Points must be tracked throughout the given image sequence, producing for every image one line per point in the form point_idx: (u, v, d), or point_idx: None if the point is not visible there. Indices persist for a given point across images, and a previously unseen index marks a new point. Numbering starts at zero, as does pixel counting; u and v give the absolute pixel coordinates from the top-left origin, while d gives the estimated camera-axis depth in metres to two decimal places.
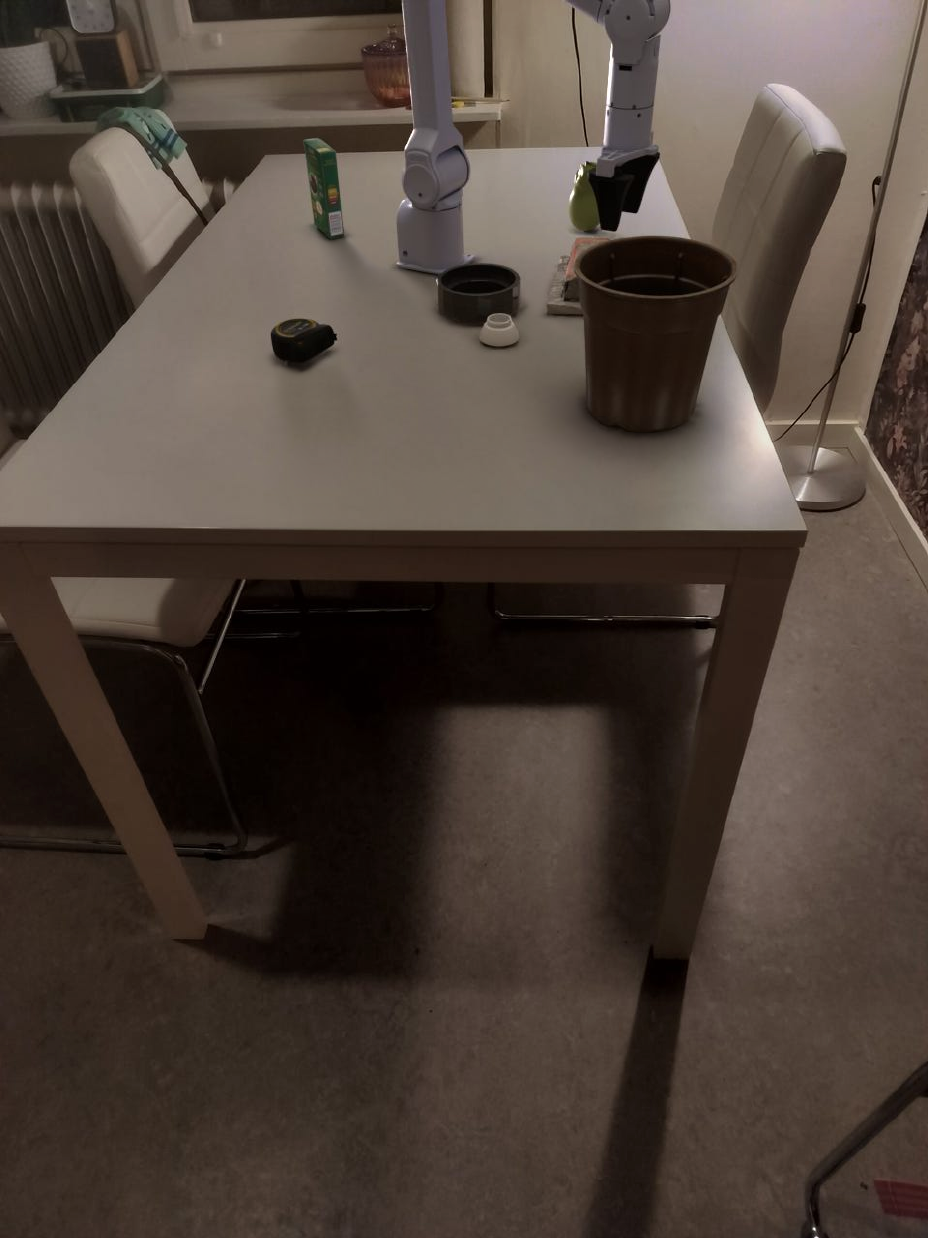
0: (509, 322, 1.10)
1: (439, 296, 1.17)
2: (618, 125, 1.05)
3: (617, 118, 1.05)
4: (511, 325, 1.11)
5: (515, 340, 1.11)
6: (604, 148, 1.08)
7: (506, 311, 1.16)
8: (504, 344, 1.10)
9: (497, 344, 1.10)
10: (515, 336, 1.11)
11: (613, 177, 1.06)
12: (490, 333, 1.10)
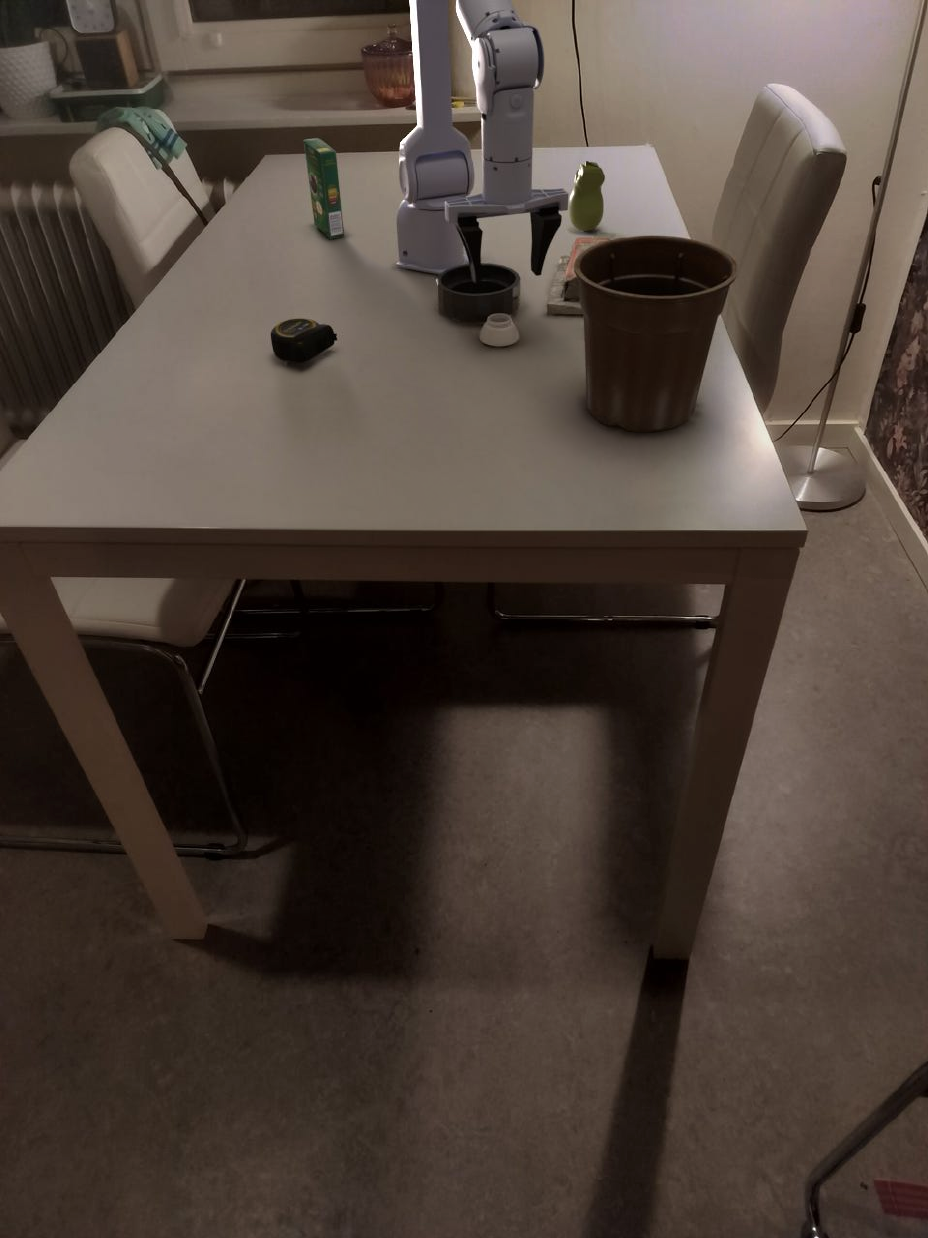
0: (509, 322, 1.10)
1: (439, 296, 1.17)
2: (482, 174, 0.99)
3: (482, 166, 0.99)
4: (511, 325, 1.11)
5: (515, 340, 1.11)
6: (481, 195, 1.03)
7: (506, 311, 1.16)
8: (504, 344, 1.10)
9: (497, 344, 1.10)
10: (515, 336, 1.11)
11: (458, 225, 1.01)
12: (490, 333, 1.10)
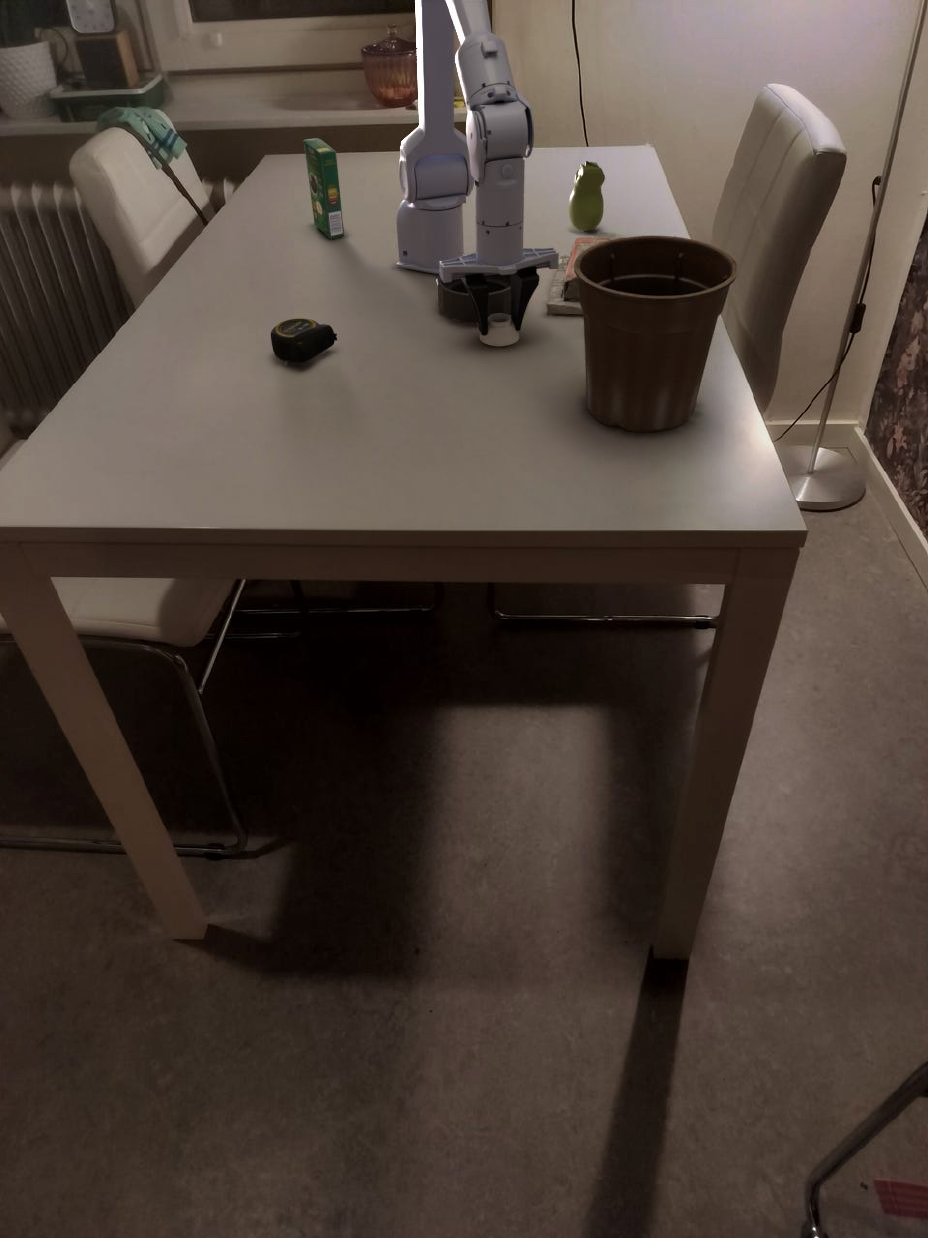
0: (509, 322, 1.10)
1: (439, 296, 1.17)
2: None
3: (476, 229, 1.03)
4: (511, 325, 1.11)
5: (515, 340, 1.11)
6: (474, 254, 1.06)
7: (506, 311, 1.16)
8: (504, 344, 1.10)
9: (497, 344, 1.10)
10: (515, 336, 1.11)
11: (466, 282, 1.06)
12: (490, 333, 1.10)
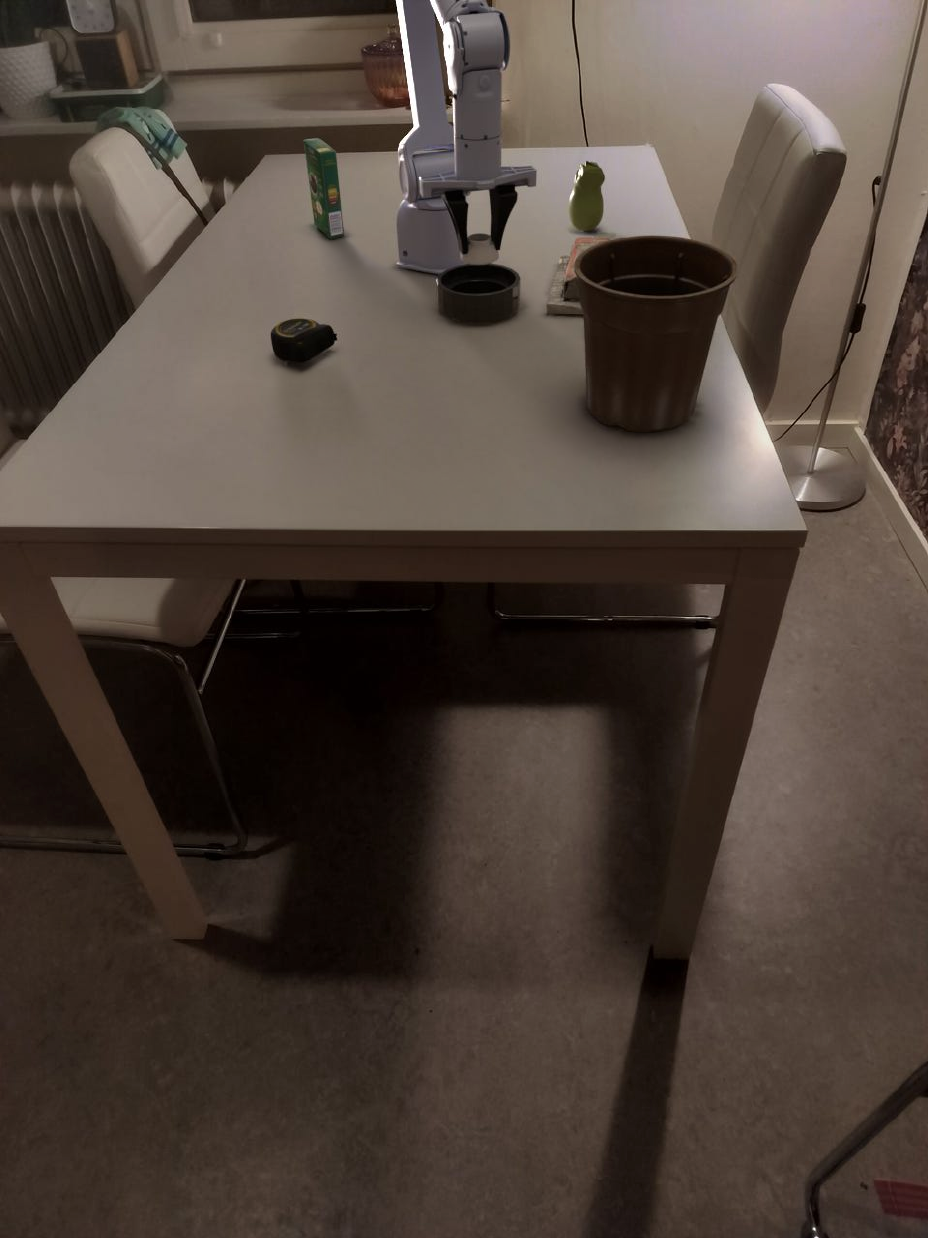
0: (489, 241, 1.12)
1: (439, 296, 1.17)
2: (454, 151, 1.06)
3: (455, 144, 1.05)
4: (491, 244, 1.13)
5: (495, 259, 1.13)
6: (454, 172, 1.09)
7: (506, 311, 1.16)
8: (484, 262, 1.13)
9: (477, 262, 1.13)
10: (495, 255, 1.13)
11: (445, 198, 1.08)
12: (470, 252, 1.13)
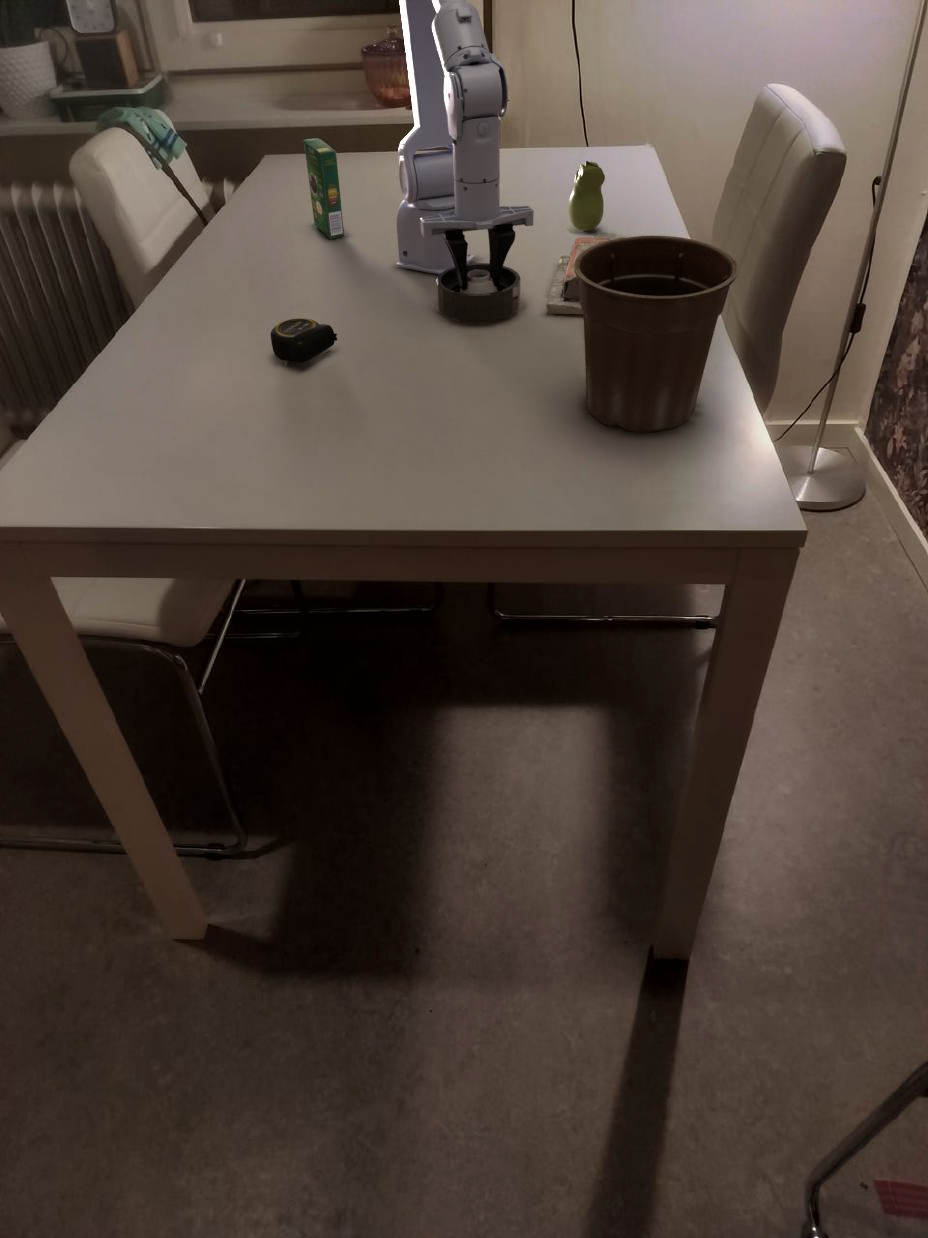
0: (487, 277, 1.16)
1: (439, 296, 1.17)
2: (454, 193, 1.09)
3: (454, 186, 1.09)
4: (489, 280, 1.17)
5: None
6: (454, 212, 1.13)
7: (506, 311, 1.16)
8: None
9: None
10: (493, 291, 1.17)
11: (445, 237, 1.12)
12: (469, 288, 1.16)
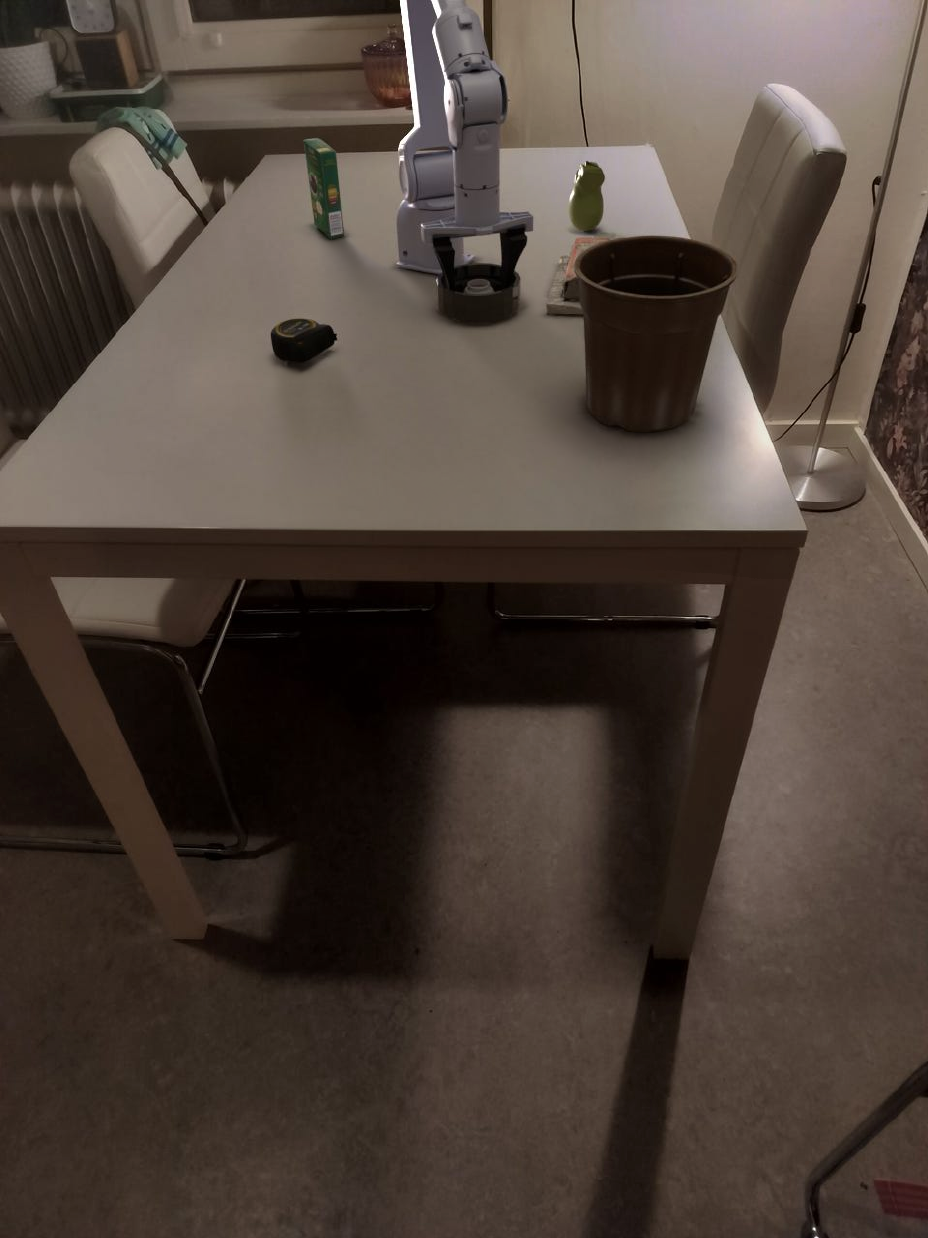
0: (488, 287, 1.17)
1: (439, 296, 1.17)
2: (454, 199, 1.10)
3: (455, 192, 1.10)
4: (490, 290, 1.18)
5: None
6: (454, 218, 1.13)
7: (506, 311, 1.16)
8: None
9: None
10: None
11: (433, 245, 1.12)
12: None
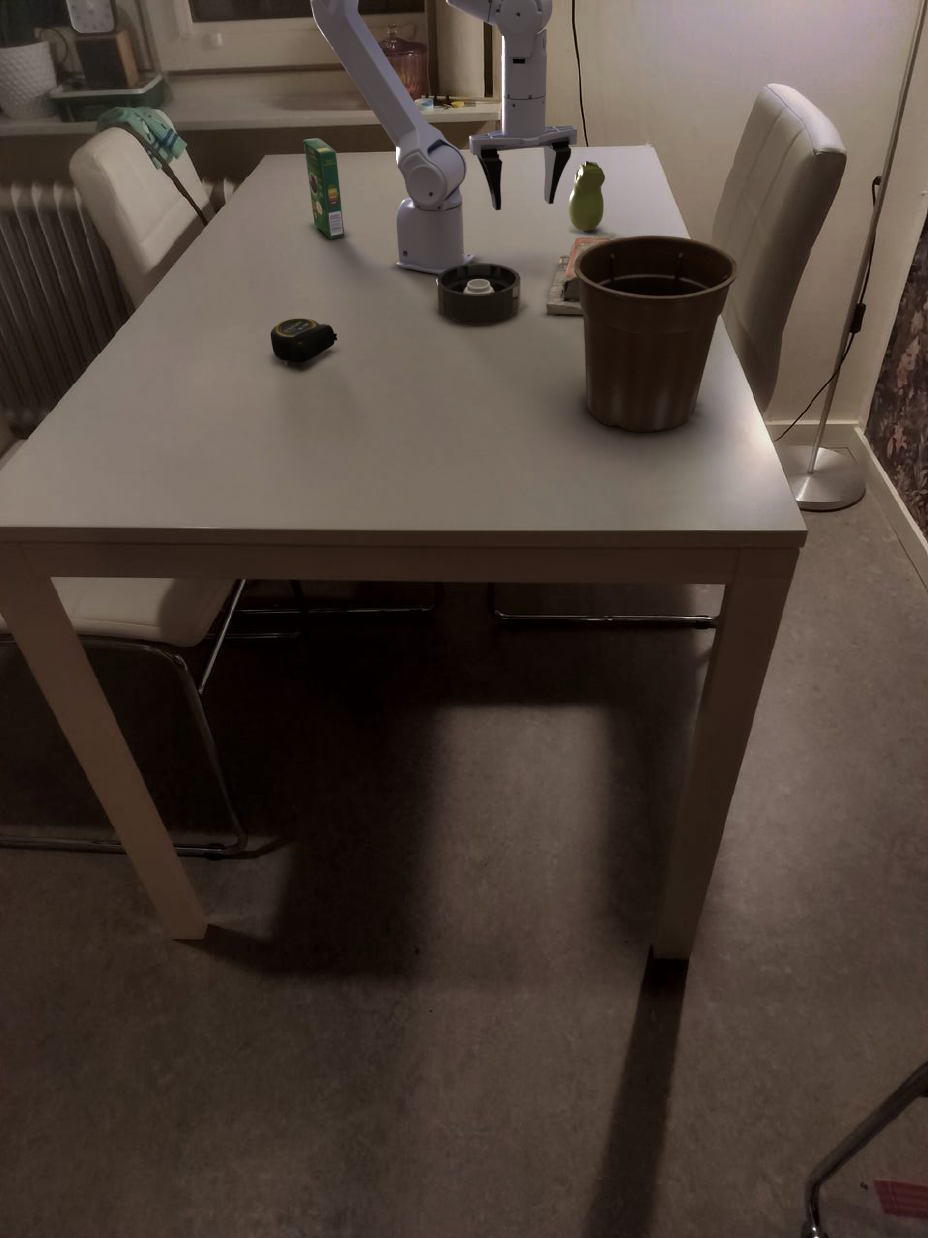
0: (488, 287, 1.17)
1: (439, 296, 1.17)
2: (502, 111, 1.15)
3: (502, 104, 1.15)
4: (490, 290, 1.18)
5: None
6: (501, 131, 1.18)
7: (506, 311, 1.16)
8: None
9: None
10: None
11: (481, 156, 1.17)
12: None
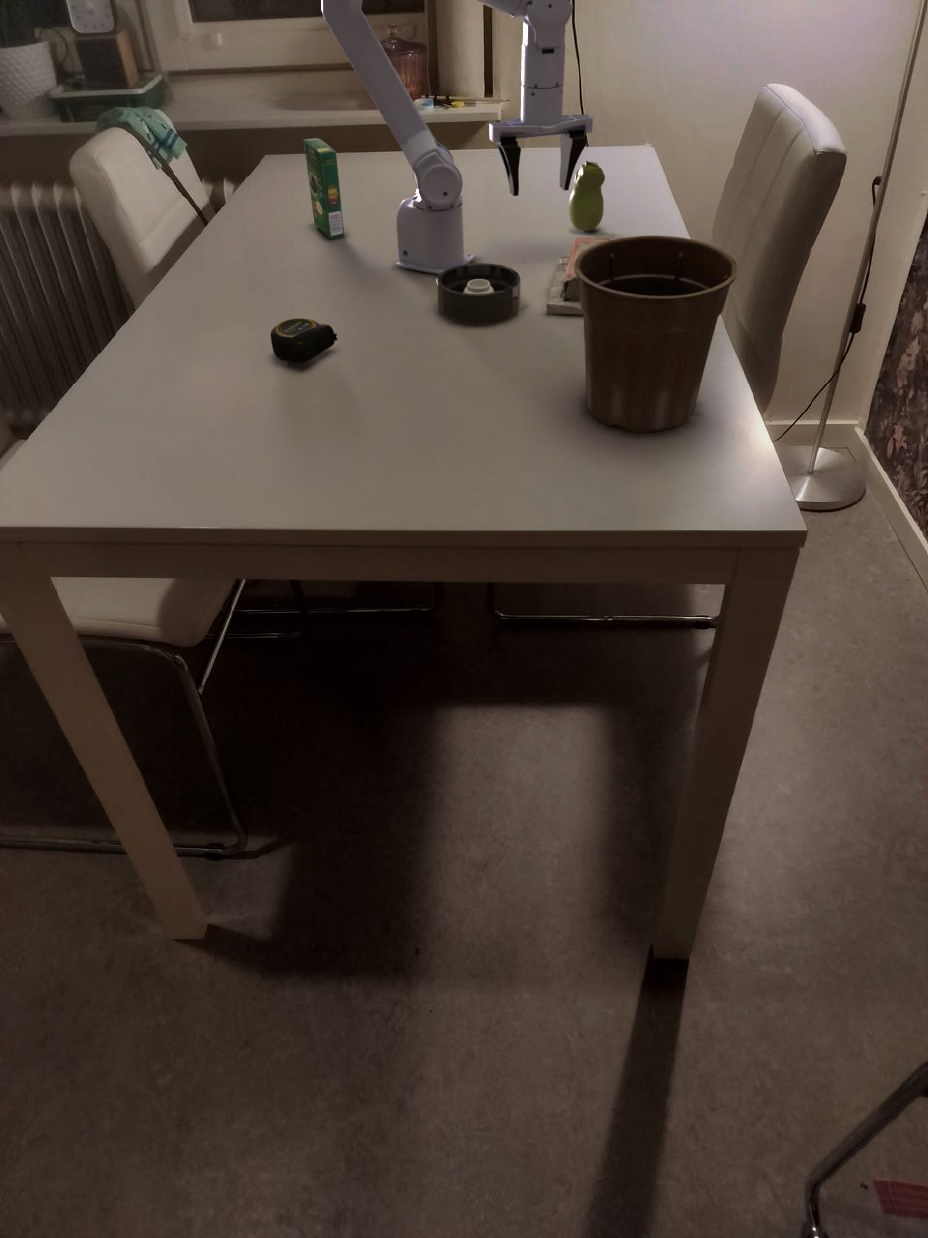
0: (488, 287, 1.17)
1: (439, 296, 1.17)
2: (521, 100, 1.19)
3: (522, 93, 1.19)
4: (490, 290, 1.18)
5: None
6: (519, 119, 1.22)
7: (506, 311, 1.16)
8: None
9: None
10: None
11: (500, 143, 1.21)
12: None
